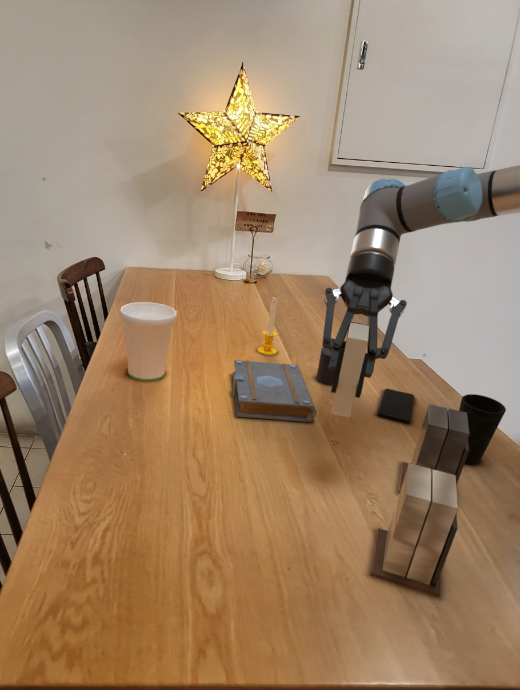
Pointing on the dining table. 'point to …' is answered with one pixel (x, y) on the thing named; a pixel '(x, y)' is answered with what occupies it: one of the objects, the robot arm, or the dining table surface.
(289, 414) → the book
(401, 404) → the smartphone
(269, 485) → the dining table surface
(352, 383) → the beige rectangular block
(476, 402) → the cup
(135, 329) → the cup
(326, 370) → the speaker
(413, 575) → the white books
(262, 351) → the candle
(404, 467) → the grey books
